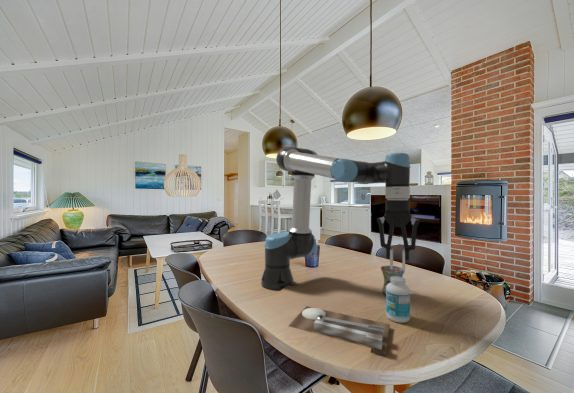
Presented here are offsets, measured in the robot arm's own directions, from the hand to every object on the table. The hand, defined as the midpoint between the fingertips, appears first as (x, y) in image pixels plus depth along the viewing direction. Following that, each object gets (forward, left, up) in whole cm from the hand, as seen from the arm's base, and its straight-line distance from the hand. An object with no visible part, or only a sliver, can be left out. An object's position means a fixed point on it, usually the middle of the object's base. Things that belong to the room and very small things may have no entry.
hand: (397, 269), depth 82 cm
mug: (-3, +23, -17) cm, 29 cm away
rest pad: (-25, -12, -15) cm, 32 cm away
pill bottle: (0, 0, -17) cm, 17 cm away
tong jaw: (-13, -18, -15) cm, 26 cm away
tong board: (-16, -15, -17) cm, 28 cm away
